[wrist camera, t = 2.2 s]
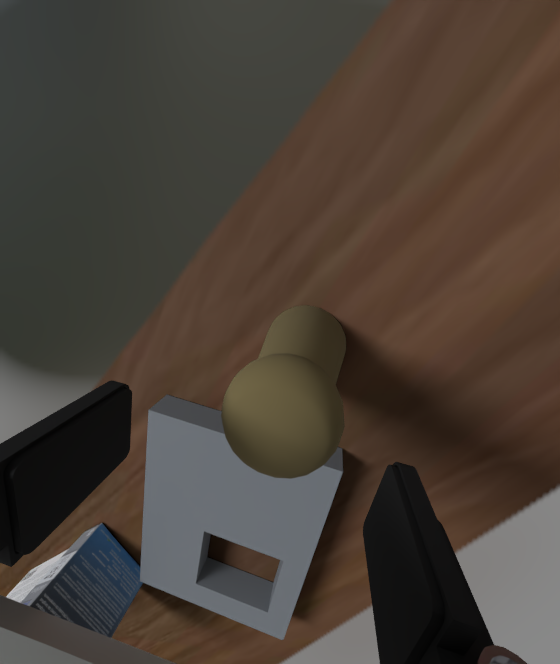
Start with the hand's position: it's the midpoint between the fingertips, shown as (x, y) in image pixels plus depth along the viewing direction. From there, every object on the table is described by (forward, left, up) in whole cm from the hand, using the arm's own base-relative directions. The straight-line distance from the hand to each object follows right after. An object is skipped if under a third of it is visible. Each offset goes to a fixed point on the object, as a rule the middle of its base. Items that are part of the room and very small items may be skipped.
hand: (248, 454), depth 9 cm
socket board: (+2, +19, -12) cm, 22 cm away
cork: (-1, 0, -12) cm, 12 cm away
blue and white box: (+15, +32, -12) cm, 37 cm away
